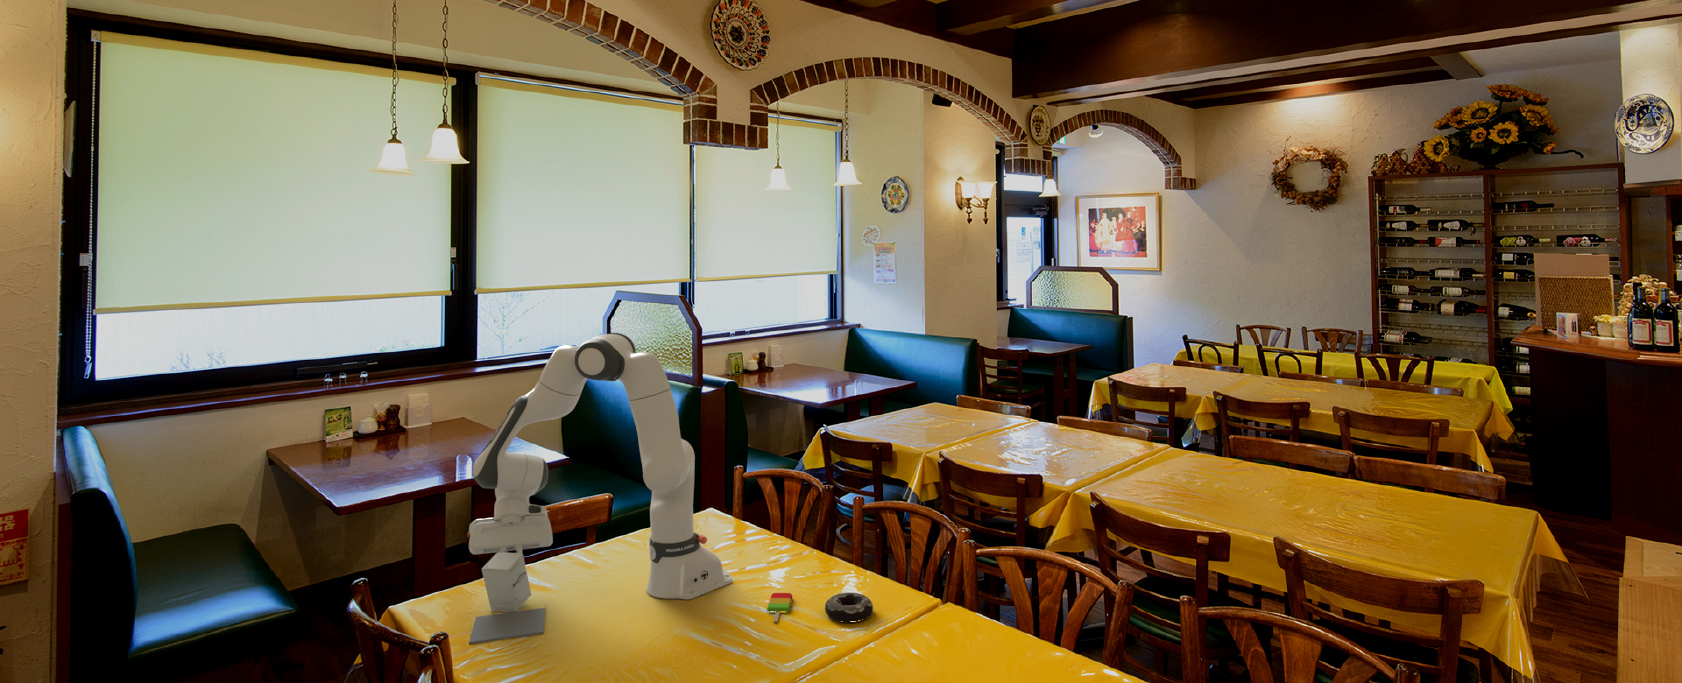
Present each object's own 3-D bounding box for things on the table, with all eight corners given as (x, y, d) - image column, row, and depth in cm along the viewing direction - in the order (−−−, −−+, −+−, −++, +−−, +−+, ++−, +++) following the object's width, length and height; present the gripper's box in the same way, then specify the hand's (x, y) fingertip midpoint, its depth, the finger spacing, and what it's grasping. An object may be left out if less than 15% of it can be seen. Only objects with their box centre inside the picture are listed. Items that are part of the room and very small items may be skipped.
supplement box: (517, 613, 205) (507, 570, 201) (490, 611, 206) (480, 568, 202) (532, 594, 212) (523, 552, 207) (506, 592, 213) (497, 551, 209)
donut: (864, 602, 209) (864, 587, 209) (879, 622, 198) (879, 606, 197) (820, 608, 206) (819, 593, 206) (832, 628, 195) (832, 612, 194)
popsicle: (792, 599, 212) (792, 592, 212) (786, 625, 197) (786, 617, 197) (771, 598, 212) (771, 591, 212) (763, 624, 198) (763, 617, 197)
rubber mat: (475, 618, 202) (475, 616, 202) (545, 609, 207) (545, 607, 207) (468, 644, 189) (468, 641, 189) (543, 633, 194) (543, 631, 194)
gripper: (467, 514, 214) (465, 564, 205) (551, 506, 220) (552, 554, 211) (471, 525, 218) (468, 574, 210) (552, 517, 224) (553, 565, 216)
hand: (511, 564), depth 211 cm, fingers closed
